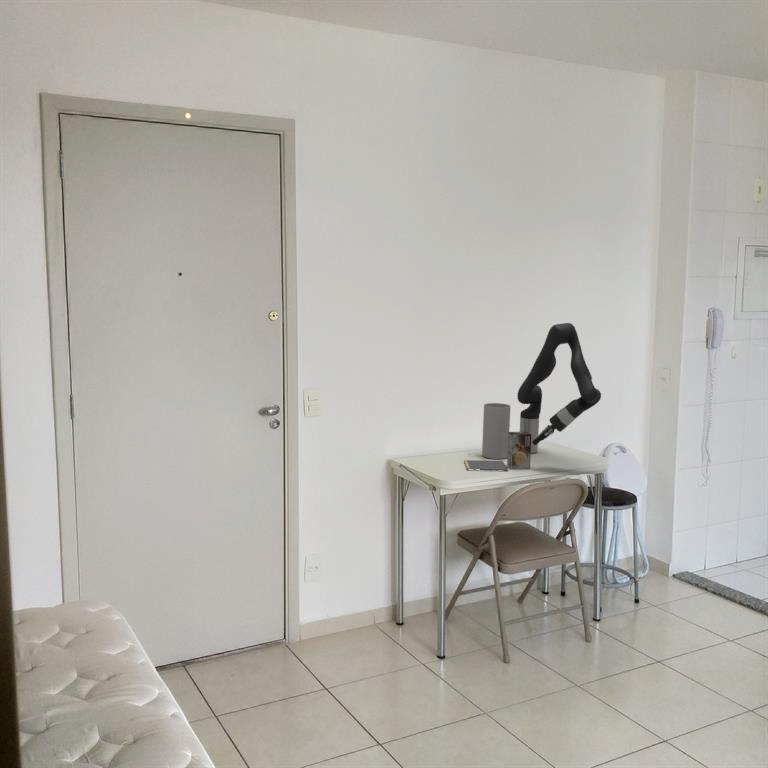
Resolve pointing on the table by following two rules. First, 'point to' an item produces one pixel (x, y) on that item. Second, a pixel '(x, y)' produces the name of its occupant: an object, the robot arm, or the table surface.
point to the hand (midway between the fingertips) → (533, 443)
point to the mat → (485, 465)
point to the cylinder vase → (495, 430)
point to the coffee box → (519, 450)
